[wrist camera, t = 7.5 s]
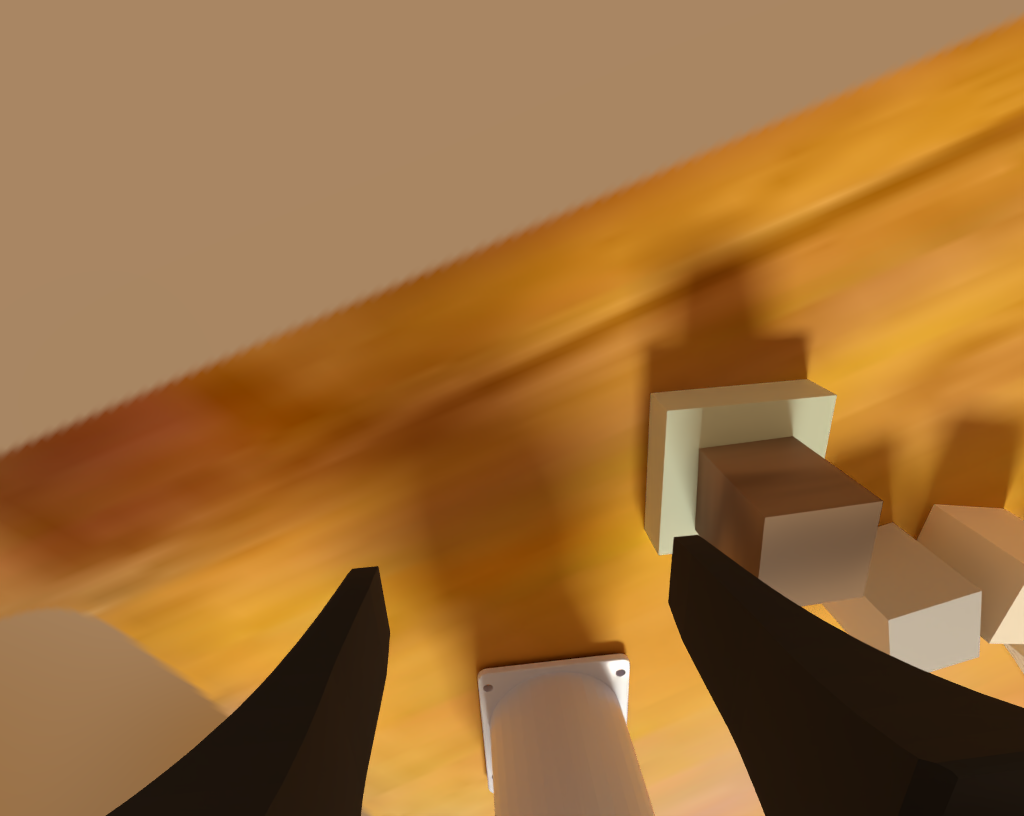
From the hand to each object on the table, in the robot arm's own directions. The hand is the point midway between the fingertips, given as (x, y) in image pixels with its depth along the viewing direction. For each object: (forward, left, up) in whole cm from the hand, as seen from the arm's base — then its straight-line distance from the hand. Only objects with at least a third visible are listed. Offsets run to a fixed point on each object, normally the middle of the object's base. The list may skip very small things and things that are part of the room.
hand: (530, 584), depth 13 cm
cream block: (-9, -23, -10) cm, 27 cm away
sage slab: (-3, -10, -11) cm, 15 cm away
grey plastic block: (-10, -18, -10) cm, 23 cm away
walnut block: (-3, -10, -8) cm, 14 cm away
